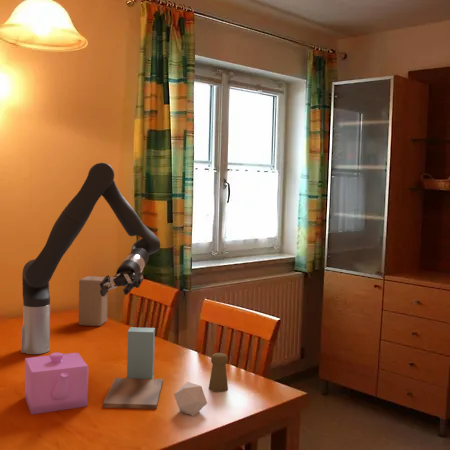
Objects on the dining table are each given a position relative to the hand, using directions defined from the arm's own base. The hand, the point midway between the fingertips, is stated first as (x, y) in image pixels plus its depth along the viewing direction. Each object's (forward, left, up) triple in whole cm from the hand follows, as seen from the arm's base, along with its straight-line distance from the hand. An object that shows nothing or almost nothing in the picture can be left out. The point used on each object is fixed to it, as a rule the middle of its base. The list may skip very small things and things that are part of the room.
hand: (113, 293), depth 187 cm
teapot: (-10, -29, -26) cm, 40 cm away
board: (+11, -21, -26) cm, 35 cm away
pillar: (+11, -8, -26) cm, 29 cm away
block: (-18, +57, -26) cm, 65 cm away
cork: (+36, -15, -26) cm, 46 cm away
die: (+28, -33, -26) cm, 50 cm away
